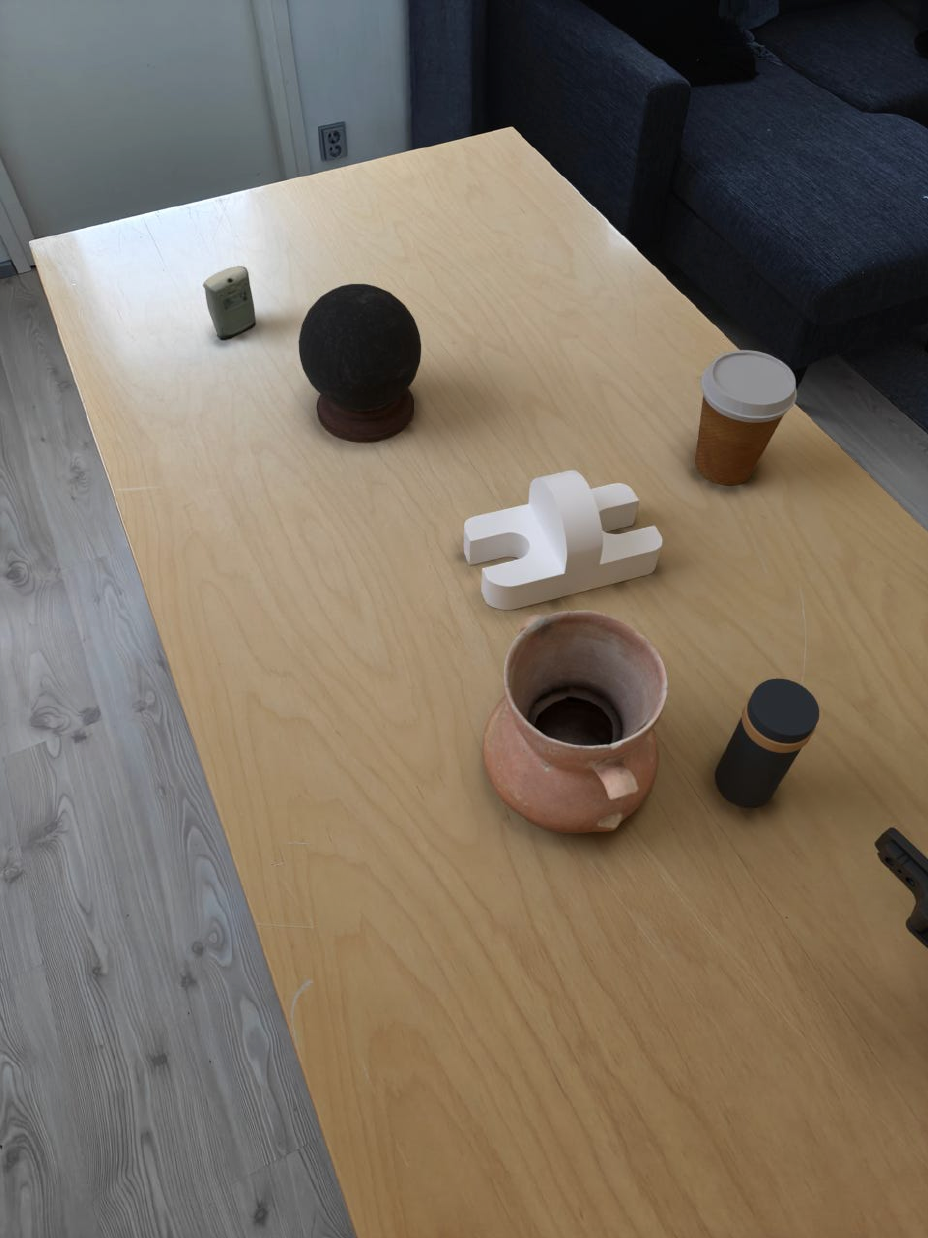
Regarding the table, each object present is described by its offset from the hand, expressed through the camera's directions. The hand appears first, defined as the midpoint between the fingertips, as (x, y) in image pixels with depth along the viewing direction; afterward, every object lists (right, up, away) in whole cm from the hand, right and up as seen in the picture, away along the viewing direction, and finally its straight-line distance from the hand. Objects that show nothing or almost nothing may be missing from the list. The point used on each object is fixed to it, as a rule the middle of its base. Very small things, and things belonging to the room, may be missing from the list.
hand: (924, 801), depth 61 cm
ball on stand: (-42, +36, +46) cm, 72 cm away
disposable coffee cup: (-2, +29, +41) cm, 50 cm away
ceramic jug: (-22, 0, +19) cm, 29 cm away
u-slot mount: (-21, +18, +33) cm, 43 cm away
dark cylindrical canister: (-7, -2, +18) cm, 19 cm away
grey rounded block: (-59, +48, +55) cm, 93 cm away
